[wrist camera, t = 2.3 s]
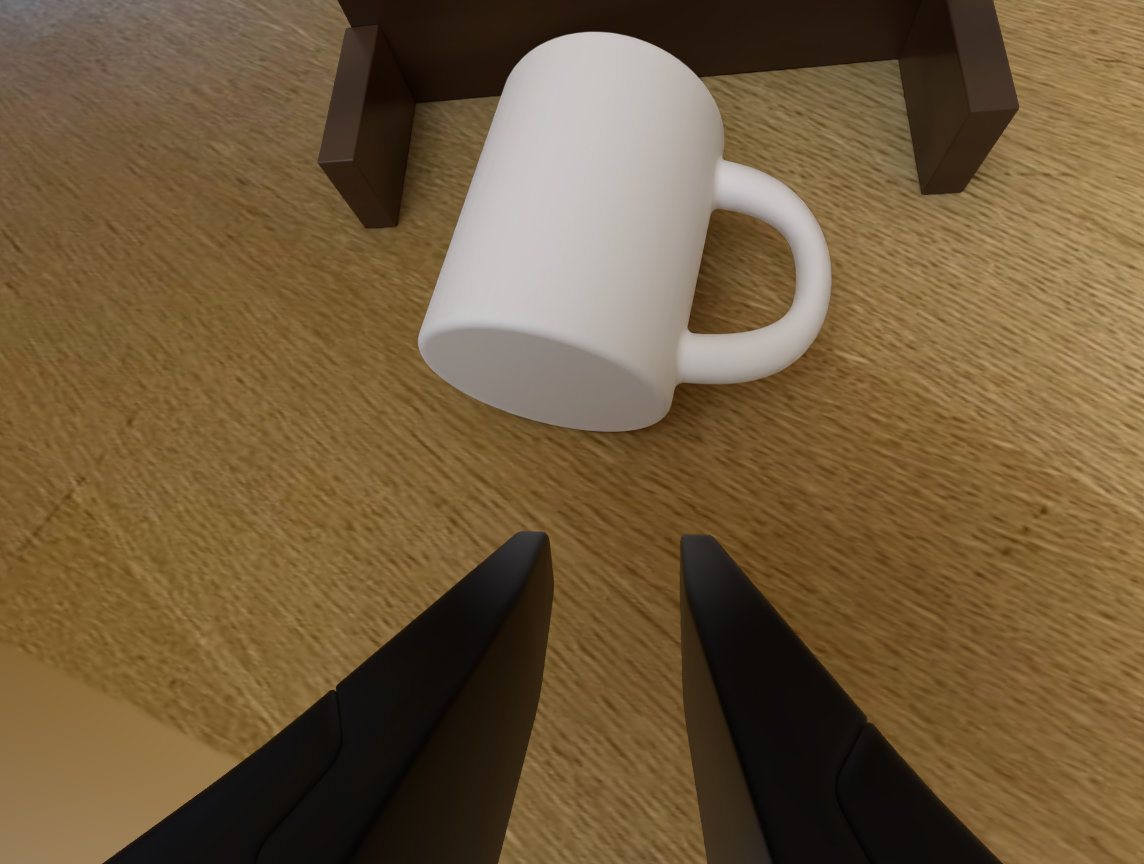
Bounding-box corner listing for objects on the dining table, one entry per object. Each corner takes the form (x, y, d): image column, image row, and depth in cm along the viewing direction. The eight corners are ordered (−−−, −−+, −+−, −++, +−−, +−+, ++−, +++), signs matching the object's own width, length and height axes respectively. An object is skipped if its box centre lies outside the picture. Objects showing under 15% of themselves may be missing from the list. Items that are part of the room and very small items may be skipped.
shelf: (962, 192, 23) (1081, 18, 17) (365, 229, 27) (268, 97, 20) (928, 20, 26) (1018, -187, 19) (391, 74, 30) (314, -86, 23)
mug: (463, 410, 23) (368, 304, 16) (528, 197, 26) (475, 21, 19) (784, 471, 21) (852, 379, 13) (819, 228, 24) (892, 40, 16)
